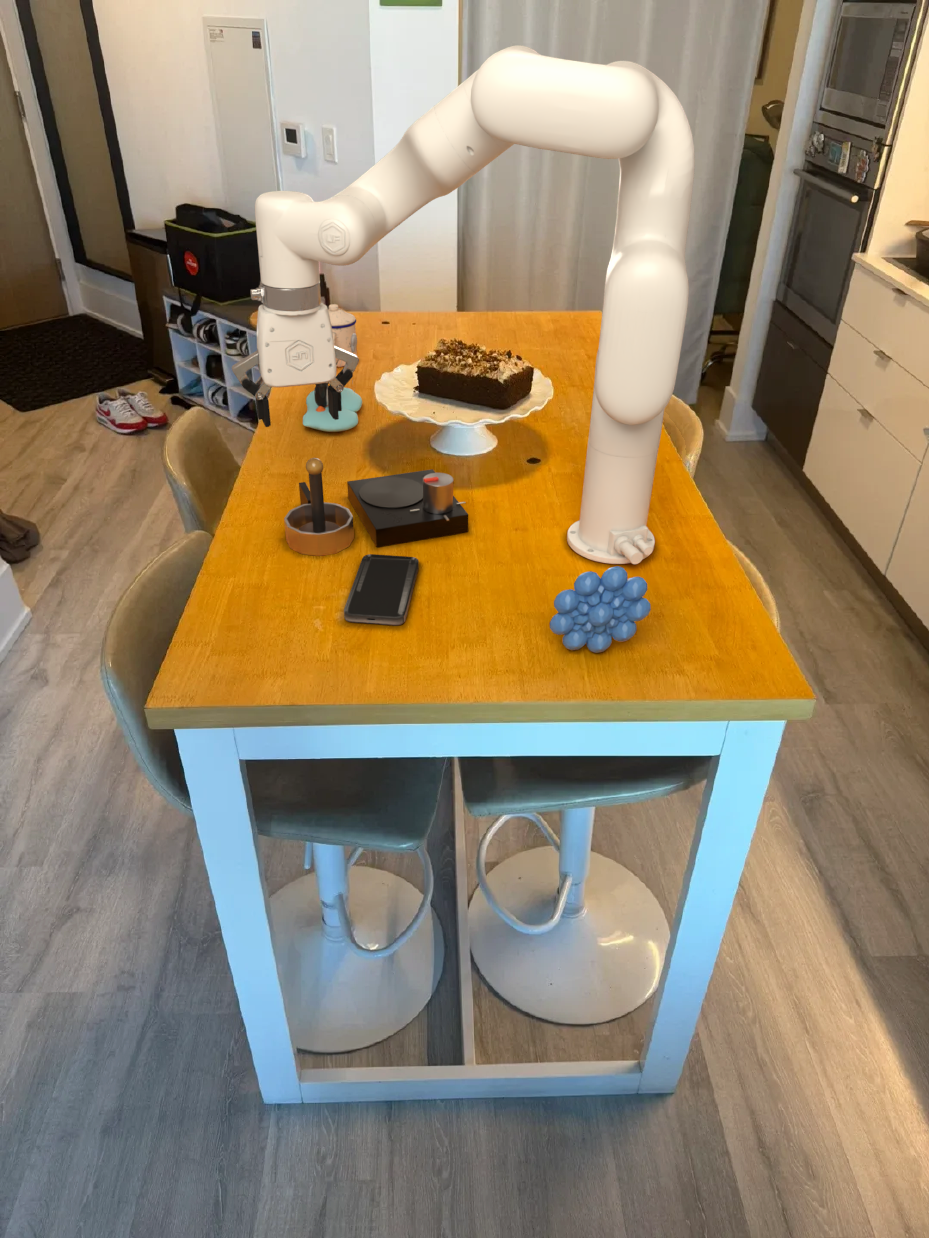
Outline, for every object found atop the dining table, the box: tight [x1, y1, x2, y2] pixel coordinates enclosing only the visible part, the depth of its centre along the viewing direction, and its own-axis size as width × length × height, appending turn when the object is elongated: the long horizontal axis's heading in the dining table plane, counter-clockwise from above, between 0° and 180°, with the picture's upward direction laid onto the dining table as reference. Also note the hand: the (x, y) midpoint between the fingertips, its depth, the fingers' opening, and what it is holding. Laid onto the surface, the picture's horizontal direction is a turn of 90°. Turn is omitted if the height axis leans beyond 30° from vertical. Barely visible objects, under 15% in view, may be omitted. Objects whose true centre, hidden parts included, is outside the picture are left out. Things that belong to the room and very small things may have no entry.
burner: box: [359, 477, 423, 508], centre depth 137 cm, size 10×10×1 cm
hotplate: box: [346, 468, 469, 548], centre depth 136 cm, size 17×15×3 cm
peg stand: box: [299, 457, 340, 533], centre depth 127 cm, size 6×6×13 cm
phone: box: [343, 553, 420, 626], centre depth 119 cm, size 8×1×15 cm
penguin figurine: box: [302, 333, 363, 433], centre depth 164 cm, size 20×11×15 cm, turn 1°
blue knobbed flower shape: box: [549, 565, 652, 654], centre depth 107 cm, size 12×7×12 cm, turn 89°
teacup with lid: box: [328, 303, 358, 368], centre depth 189 cm, size 12×9×12 cm
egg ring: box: [283, 481, 355, 557], centre depth 132 cm, size 16×9×4 cm, turn 21°
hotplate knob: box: [423, 472, 454, 514], centre depth 132 cm, size 4×4×5 cm
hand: (300, 419), depth 128 cm, fingers open, 9 cm apart
